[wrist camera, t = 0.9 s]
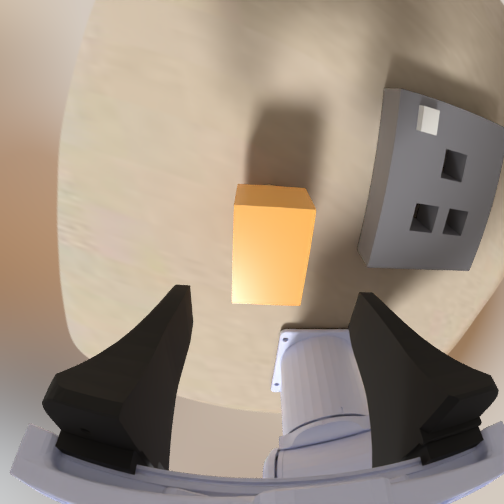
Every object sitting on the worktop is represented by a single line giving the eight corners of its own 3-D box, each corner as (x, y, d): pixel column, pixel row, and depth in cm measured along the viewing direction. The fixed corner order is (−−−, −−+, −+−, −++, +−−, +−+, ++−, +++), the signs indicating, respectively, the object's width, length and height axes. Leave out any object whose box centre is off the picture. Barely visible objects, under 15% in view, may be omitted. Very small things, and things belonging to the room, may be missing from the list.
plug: (290, 257, 22) (300, 305, 17) (236, 255, 22) (231, 303, 17) (300, 179, 19) (316, 209, 14) (239, 175, 19) (234, 204, 14)
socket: (454, 255, 22) (472, 274, 19) (357, 249, 22) (369, 272, 19) (488, 123, 16) (513, 130, 13) (384, 88, 16) (405, 88, 13)
